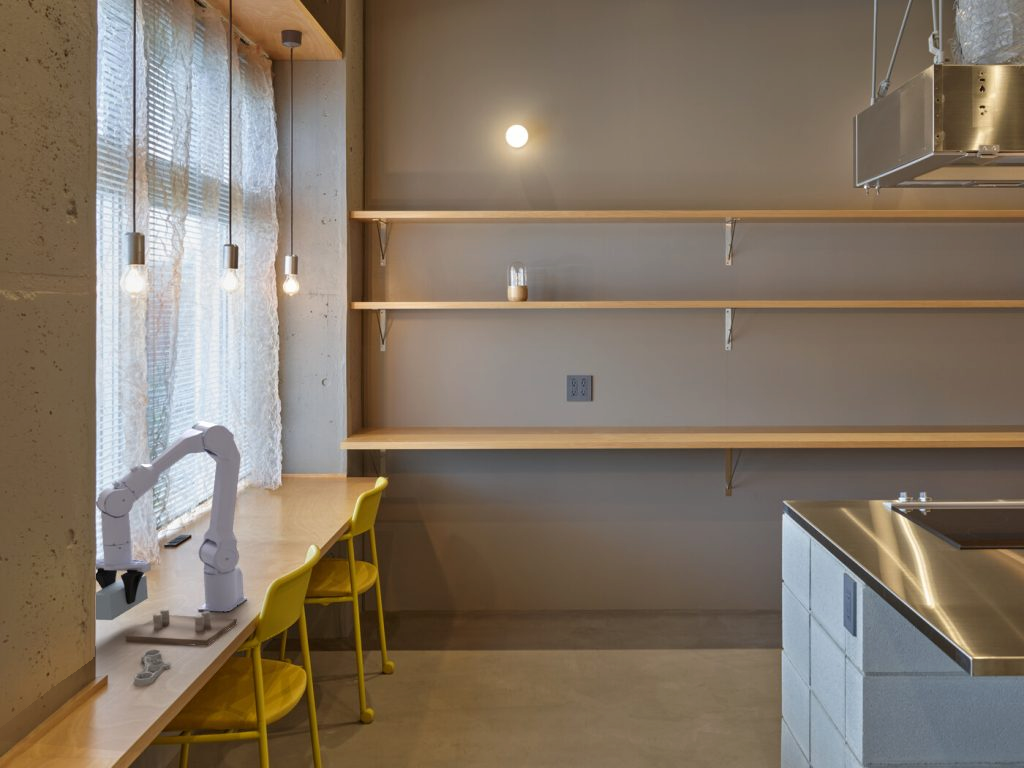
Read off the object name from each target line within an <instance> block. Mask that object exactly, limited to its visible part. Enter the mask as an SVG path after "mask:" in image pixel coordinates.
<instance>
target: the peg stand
mask: <svg viewBox="0 0 1024 768" xmlns="http://www.w3.org/2000/svg"><path fill="white" fill-rule="evenodd" d="M236 623H238V620H237V618H233V617H232V618H229V617H212V616H211V611H202V612H201V615H197V616H193V615H191V616H190V615H173V614H170V609H168V608H165V609H160V613H154V614H153V615H152V619H150V620H149V621H147V622H146V623H144V624H143V625H141V626H139V627H138V628H136V629H135V630H132V631H131V632H129V633H128V634H126V635H125V641H126V642H133V643H134V642H137V643H150V644H151V643H152V644H168V645H169V644H170V645H171V644H172V645H183V644H195V645H194V646H200V645H207V646H209V645H210V644H212V643H213V642H214V641H216V640H217V639H219V638H220V637H221V636H222V635H224V634H225V633H227V632H228V631H229V630H230V629H229V628H231V627H232V626H233V625H235V624H236ZM236 625H237V624H236ZM236 625H235V626H236ZM233 627H234V626H233ZM233 627H232V628H233ZM232 628H231V629H232ZM228 629H229V630H228ZM227 630H228V631H227ZM223 633H224V634H223ZM220 635H221V636H220ZM219 636H220V637H219ZM216 638H217V639H216ZM215 639H216V640H215ZM213 640H214V641H213ZM212 641H213V642H212ZM209 643H210V644H209ZM208 644H209V645H208Z"/></svg>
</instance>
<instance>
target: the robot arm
mask: <svg viewBox="0 0 1024 768" xmlns="http://www.w3.org/2000/svg"><path fill="white" fill-rule="evenodd" d="M198 453H200V454H201V453H207V454H208V455H209V457H211V459H213V461H214V462H215V463H216V465H215V475H214V483H213V490H212V491H213V492H212V498H211V499H212V501H211V509H210V519H209V520H210V521H209V528H208V529H207V531H206V532H205V533H204V536H203V541H202V543H201V544H200V546H199V548H198V557H199V559H200V561H201V562H202V563H203V569H202V570H203V582H204V584H203V585H204V602H205V603H204V604H202V605H201V606H199V607H198V608H197V610H198V611H202V612H205V611H209V612H223V611H224V612H227V611H229V612H231V611H232V610H234V609H235V608H237V607H238V606H239V605H241V604H243V603H244V602H245V601H247V599H248V596H244V595H245V594H244V583H243V582H244V578H243V575H244V574H243V571H242V569H241V568H240V566H238V564H239V560H240V554H239V550H238V545H237V544H238V540H237V537H236V535H235V533H234V520H235V512H236V505H237V504H236V502H237V493H238V485H239V477H240V476H239V474H240V467H241V466H240V465H241V454H240V451H239V449H238V447H237V445H236V442H235V440H234V434H233V432H232V431H230V430H229V429H228V428H227V427H226V426H224V425H222V424H215V423H210V422H208V421H203V420H202V421H198V422H196V423H194V424H193V425H192V427H190V428H188V429H186V430H185V431H184V432H183V433H182V434H181V435H180V436H179V437H178V438H177V439H176V440H175V441H173V443H171V444H169V446H168V447H167V448H166V449H164V450H163V451H162V452H161V453H160V454H159V455H158V456H156V458H154V459H153V460H152V461H151V462H150V463H148V464H145V463H141V464H139V465H138V466H136V465H133V466H132V467H131V468H129V470H130V472H128V473H127V474H126V475H125V476H124V477H122V478H121V479H120V480H118V481H114V482H113V483H112V485H113V487H111V486H109V487H106V488H105V489H103V490H101V491H100V493H99V494H98V496H97V500H96V501H95V504H96V507H97V509H98V510H99V511H100V516H101V517H100V518H101V536H102V549H103V551H102V553H103V559H102V558H100V559H96V579H95V581H96V582H97V583H98V584H99V586H100V588H101V590H102V589H103V588H105V587H107V586H109V585H111V584H113V583H115V582H116V581H117V572H118V571H120V572H124V573H123V574H121V575H120V579H122V581H123V583H124V587H125V594H126V602H127V604H131V603H133V602H135V598H136V593H137V589H138V585H139V583H140V580H141V578H142V576H143V575H145V573H148V572H150V571H152V563H151V561H149V560H148V561H146V560H140V559H135V558H133V551H132V550H133V549H132V538H131V522H130V521H131V519H130V512H131V511H132V509H133V507H134V506H133V505H134V503H136V502H137V501H138V500H139V499H140V498H142V497H143V496H144V495H145V494H146V493H148V492H149V491H150V490H152V489H153V488H154V487H156V486H157V484H159V480H160V475H161V474H162V473H165V471H167V470H169V469H170V468H171V467H173V466H174V465H175V464H176V463H178V462H179V461H180V460H182V459H183V458H185V457H186V456H188V455H189V454H190V455H191V454H198ZM237 605H238V606H237Z"/></svg>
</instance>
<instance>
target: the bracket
mask: <svg viewBox="0 0 1024 768" xmlns="http://www.w3.org/2000/svg"><path fill="white" fill-rule="evenodd" d="M140 662H141V663H144V668H142V669H141V670H140V671H139V672H138V673H136V674H134V675H133V679H134V680H133V682H134V685H135V686H137V687H144V686H148V685H151V684H152V683H153V684H154V682H155V681H156V679H157V677H158V676H159V675H160V674H161V673H162V672H163V671H166V670H170V668H171V661H168V662H164V657H163V653H162V650H161V649H157V648H155V649H148V650H146V651H144V652H143V653H142V654H141V656H140Z"/></svg>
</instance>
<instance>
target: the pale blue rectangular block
mask: <svg viewBox="0 0 1024 768" xmlns="http://www.w3.org/2000/svg"><path fill="white" fill-rule="evenodd" d="M147 579H148V578H147V574H143V576H142V578H141V580H140V583H139V585H138V589H137V593H136V598H135V602H133V603H131V604H127V602H126V594H125V587H124V583H123V581H122V578H120V579H118V580H116V582H115V583H113V584H111V585H109V586H107V587H105V588H103V589H102V588H101V589H100V590H98V591H96V592H95V593H96V620H97V621H113V620H114V619H117V618H118V617H119V616H122V615H123V614H124V613H126V612H128V611H130V610H131V609H133V608H134V607H135V606H138V605H139V604H141V603H143V602H144V601H146V600H147V599H148V598H149V597H148V596H149V595H148V585H147V584H148V583H147Z"/></svg>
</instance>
